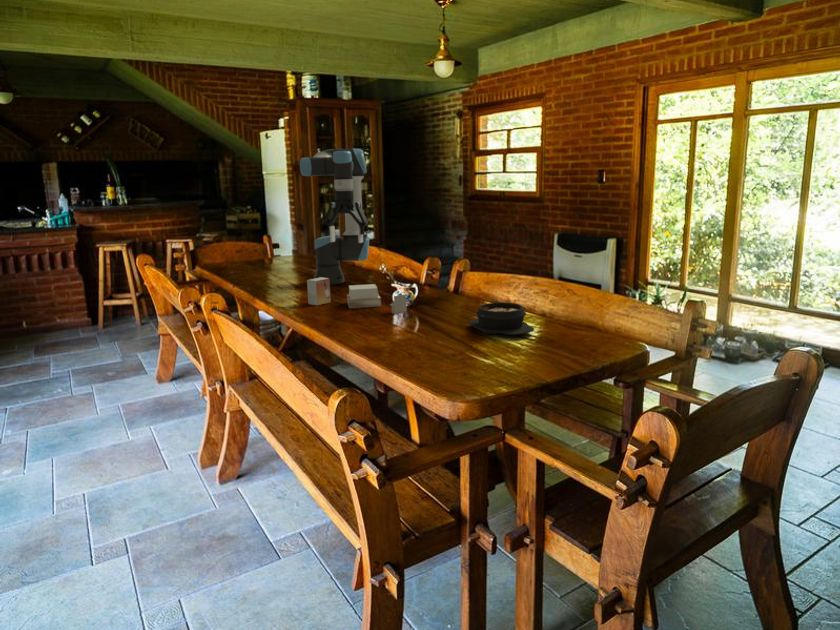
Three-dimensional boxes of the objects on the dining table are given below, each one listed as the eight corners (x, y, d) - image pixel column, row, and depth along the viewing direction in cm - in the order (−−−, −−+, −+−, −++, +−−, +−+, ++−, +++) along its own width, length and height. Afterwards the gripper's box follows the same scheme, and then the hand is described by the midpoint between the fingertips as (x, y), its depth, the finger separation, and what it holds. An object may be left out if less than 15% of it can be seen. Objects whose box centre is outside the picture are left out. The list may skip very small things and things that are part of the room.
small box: (317, 305, 250) (315, 281, 247) (308, 304, 253) (306, 279, 250) (331, 302, 256) (329, 278, 253) (322, 300, 259) (320, 276, 257)
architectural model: (389, 313, 235) (389, 295, 233) (404, 310, 239) (403, 292, 237) (394, 315, 232) (393, 296, 231) (409, 312, 236) (408, 293, 234)
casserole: (456, 328, 210) (456, 304, 208) (496, 319, 220) (496, 297, 218) (505, 343, 190) (505, 318, 188) (546, 333, 200) (547, 309, 198)
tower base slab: (347, 303, 254) (346, 294, 253) (377, 301, 256) (377, 292, 255) (349, 309, 243) (348, 299, 242) (381, 307, 246) (380, 297, 245)
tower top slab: (349, 294, 252) (348, 285, 251) (375, 293, 254) (374, 284, 253) (350, 299, 243) (350, 289, 242) (377, 297, 245) (377, 288, 244)
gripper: (313, 190, 247) (316, 242, 252) (366, 190, 236) (368, 244, 241) (323, 190, 253) (326, 240, 258) (375, 189, 243) (377, 241, 248)
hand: (346, 242), depth 250 cm, fingers open, 13 cm apart
